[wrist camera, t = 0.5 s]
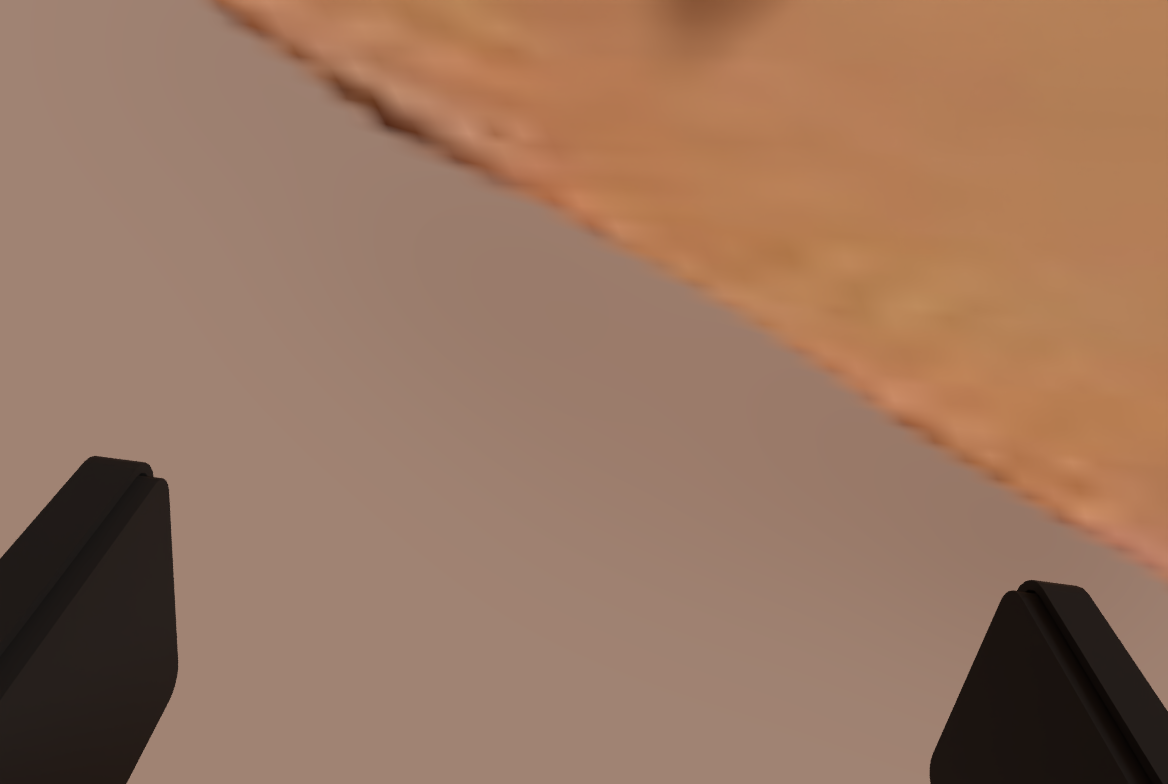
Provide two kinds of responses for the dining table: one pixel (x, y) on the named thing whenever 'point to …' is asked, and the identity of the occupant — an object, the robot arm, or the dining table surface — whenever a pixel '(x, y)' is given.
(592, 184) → the dining table surface
